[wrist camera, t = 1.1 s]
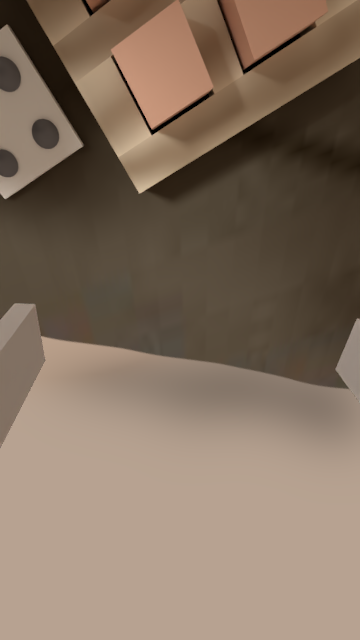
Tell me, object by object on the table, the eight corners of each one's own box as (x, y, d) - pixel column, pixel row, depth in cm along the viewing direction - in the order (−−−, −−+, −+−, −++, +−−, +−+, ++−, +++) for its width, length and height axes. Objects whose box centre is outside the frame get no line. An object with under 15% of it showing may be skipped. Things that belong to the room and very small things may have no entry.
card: (-73, 96, 26) (-80, 95, 25) (10, 26, 24) (5, 23, 23) (7, 198, 30) (3, 199, 29) (84, 145, 28) (82, 145, 27)
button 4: (214, -11, 22) (222, -35, 19) (283, -61, 21) (303, -96, 18) (243, 70, 24) (254, 60, 21) (306, 28, 23) (328, 11, 20)
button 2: (118, 61, 23) (110, 49, 20) (176, 17, 22) (178, -2, 19) (153, 129, 26) (151, 128, 23) (208, 93, 25) (213, 87, 22)
